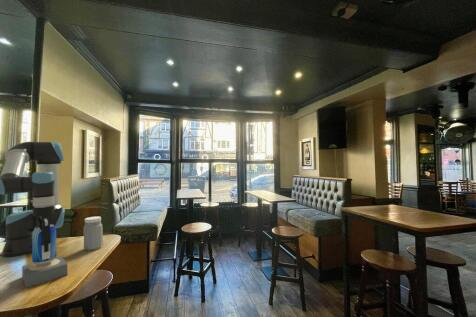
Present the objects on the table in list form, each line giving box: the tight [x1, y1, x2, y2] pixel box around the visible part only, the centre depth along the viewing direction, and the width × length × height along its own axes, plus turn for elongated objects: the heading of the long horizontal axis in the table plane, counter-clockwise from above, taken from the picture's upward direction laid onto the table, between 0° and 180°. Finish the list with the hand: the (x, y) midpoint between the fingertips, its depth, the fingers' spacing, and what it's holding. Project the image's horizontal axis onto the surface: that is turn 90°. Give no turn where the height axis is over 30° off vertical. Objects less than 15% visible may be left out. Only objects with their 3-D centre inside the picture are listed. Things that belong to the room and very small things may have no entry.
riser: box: [21, 255, 68, 289], centre depth 103 cm, size 14×14×5 cm
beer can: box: [31, 224, 57, 265], centre depth 104 cm, size 8×8×16 cm
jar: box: [82, 215, 104, 252], centre depth 136 cm, size 10×10×18 cm
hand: (44, 256), depth 103 cm, fingers closed on beer can, 8 cm apart
